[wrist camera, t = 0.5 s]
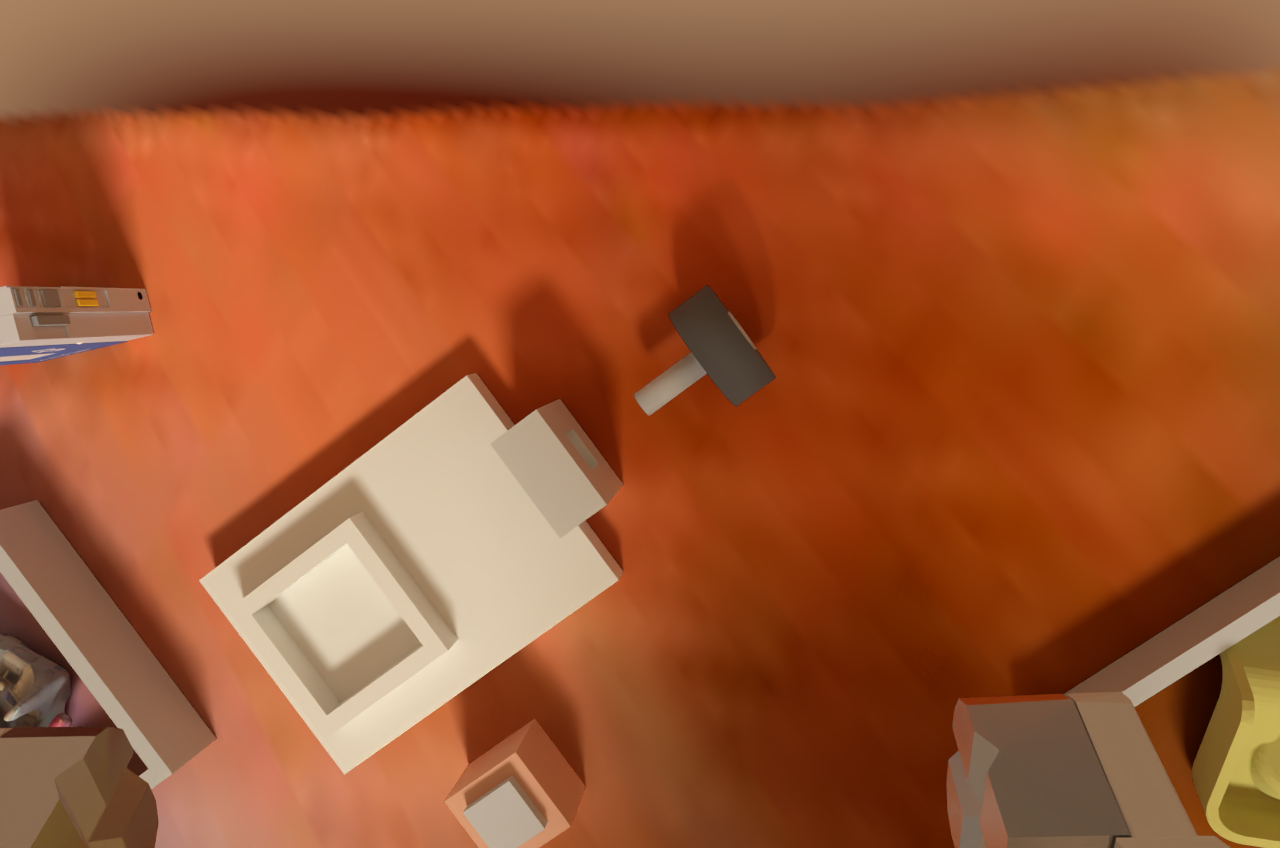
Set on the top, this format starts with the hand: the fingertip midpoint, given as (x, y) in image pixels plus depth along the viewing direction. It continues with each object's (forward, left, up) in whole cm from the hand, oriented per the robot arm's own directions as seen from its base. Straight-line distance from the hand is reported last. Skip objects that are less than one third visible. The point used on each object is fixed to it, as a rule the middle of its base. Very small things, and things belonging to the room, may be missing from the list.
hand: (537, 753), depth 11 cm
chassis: (+2, +20, -50) cm, 54 cm away
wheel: (+2, +1, -50) cm, 50 cm away
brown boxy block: (-12, +23, -50) cm, 57 cm away
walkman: (+25, +28, -51) cm, 63 cm away
